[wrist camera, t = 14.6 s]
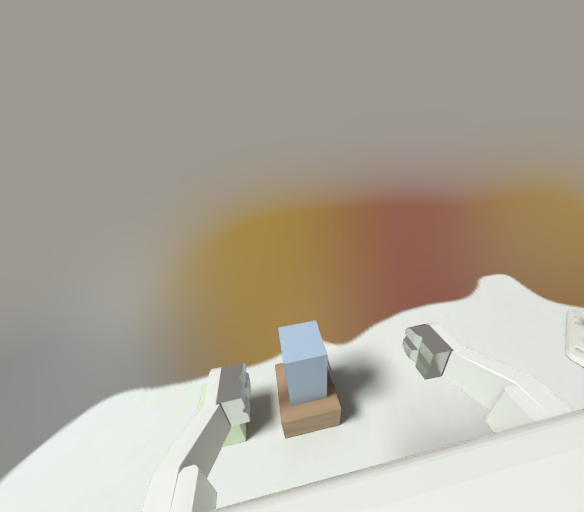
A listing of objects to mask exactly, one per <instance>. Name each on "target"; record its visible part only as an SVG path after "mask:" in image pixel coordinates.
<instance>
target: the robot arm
mask: <svg viewBox="0 0 584 512" xmlns="http://www.w3.org/2000/svg"><path fill="white" fill-rule="evenodd" d="M405 334H406V335H407V336H406V337H405V338H404V339H403V347H404V350H405V352H406V354H407V356H408V357H409V359H411V360H413V361H415V362H416V368H417V369H418V371H419V372H420V373H421V375H422V376H423V377H424V379H425V380H426V379H431V378H436V377H441V376H442V378H444V379H445V380H447V381H448V382H450V383H451V384H453V385H454V386H455V387H457V388H458V389H460V390H461V391H463V392H464V393H466V394H467V395H469V396H470V397H472V398H473V399H475V400H476V401H477V402H479V403H480V404H482V405H483V406H485V407H486V408H488V409H489V412H488V414H487V415H486V417H485V422H486V423H487V424H488V425H489V427H490V428H491V429H492V430H493V431H494V433H493V434H489V435H485V436H482V437H478V438H474V439H471V440H467V441H463V442H460V443H456V444H452V445H449V446H445V447H442V448H438V449H434V450H431V451H427V452H423V453H420V454H416V455H412V456H409V457H405V458H401V459H398V460H394V461H390V462H387V463H383V464H379V465H376V466H372V467H368V468H365V469H361V470H357V471H354V472H350V473H346V474H343V475H339V476H335V477H332V478H328V479H324V480H321V481H317V482H313V483H310V484H306V485H302V486H299V487H295V488H291V489H288V490H284V491H280V492H277V493H273V494H269V495H266V496H262V497H258V498H255V499H251V500H247V501H244V502H240V503H236V504H233V505H229V506H225V507H222V508H218V509H216V499H217V492H216V490H215V489H214V488H213V486H212V485H211V484H210V482H209V481H208V480H207V477H208V475H209V473H210V471H211V469H212V466H213V464H214V462H215V460H216V458H217V456H218V454H219V452H220V450H221V448H222V446H223V444H224V442H225V440H226V438H227V436H228V434H229V431H230V429H231V426H235V425H239V424H243V423H246V422H250V402H249V399H248V398H249V397H250V395H251V387H250V379H249V375H248V373H247V372H246V366H245V363H242V364H237V365H231V366H226V367H221V368H216V369H212V370H211V371H210V373H209V379H208V384H207V389H206V394H205V400H204V405H203V408H200V409H199V410H198V411H197V413H196V414H195V416H194V417H193V418H192V420H191V421H190V423H189V424H188V425H187V427H186V428H185V430H184V431H183V432H182V434H181V435H180V437H179V438H178V439H177V441H176V442H175V444H174V445H173V446H172V448H171V449H170V451H169V452H168V453H167V455H166V456H165V458H164V459H163V460H162V462H161V463H160V465H159V466H158V467H157V469H156V470H155V472H154V473H153V475H152V479H151V482H150V485H149V488H148V492H147V495H146V498H145V502H144V505H143V508H142V511H141V512H584V409H581V410H577V411H574V410H573V409H571V408H570V407H569V406H568V405H567V404H565V403H564V402H563V401H562V400H561V399H559V398H558V397H557V396H556V395H555V394H553V393H552V392H551V391H550V390H549V389H547V388H546V387H545V386H544V385H543V384H541V383H540V382H539V381H538V380H536V379H535V378H533V377H531V376H529V375H527V374H525V373H522V372H520V371H518V370H516V369H514V368H511V367H509V366H507V365H505V364H503V363H500V362H498V361H496V360H494V359H492V358H490V357H487V356H485V355H483V354H481V353H479V352H476V351H474V350H472V349H470V348H464V347H463V346H462V345H461V344H460V343H459V342H458V341H457V340H456V339H455V338H454V337H453V336H452V335H451V334H450V333H448V332H447V331H446V330H445V329H444V328H443V327H442V326H441V325H440V324H439V323H437V322H433V323H428V324H422V325H418V326H414V327H409V328H407V329H406V330H405ZM565 353H566V355H567V357H568V358H570V359H571V360H573V361H574V362H576V363H577V364H579V365H581V366H583V367H584V309H570V310H569V311H568V312H567V321H566V351H565Z"/></svg>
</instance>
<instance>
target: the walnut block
mask: <svg viewBox="0 0 584 512" xmlns="http://www.w3.org/2000/svg"><path fill="white" fill-rule="evenodd" d="M275 368H276V378H277V387H278V396H279V405H280V414H281V423H282V427H283V431H284V435H285V439H286V438H290V437H294V436H298V435H302V434H306V433H310V432H314V431H318V430H322V429H326V428H330V427H334V426H338V425H340V419H341V406H340V403H339V400H338V397H337V394H336V391H335V388H334V385H333V382H332V379H331V376H330V373H329V369H328V366H327V398H323V399H319V400H315V401H311V402H306V403H302V404H298V405H294V406H291V402H290V396H289V391H288V385H287V380H286V374H285V368H284V363H281V364H276V365H275Z"/></svg>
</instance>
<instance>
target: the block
mask: <svg viewBox="0 0 584 512" xmlns="http://www.w3.org/2000/svg"><path fill="white" fill-rule="evenodd" d="M206 389H207V384H204V385H203V387H202V391H201V396H200V401H199V406H198V410H199V409H200V408H203V405H204V400H205V394H206ZM198 410H197V411H198ZM246 424H247V422H246V423H243V424H239V425H235V426H231V429H230V431H229V434H228V436H227V438H226V440H225V442H224V444H223V446H222V447H224V446H228V445H232V444H237V443H241V442H245V441H246Z"/></svg>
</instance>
